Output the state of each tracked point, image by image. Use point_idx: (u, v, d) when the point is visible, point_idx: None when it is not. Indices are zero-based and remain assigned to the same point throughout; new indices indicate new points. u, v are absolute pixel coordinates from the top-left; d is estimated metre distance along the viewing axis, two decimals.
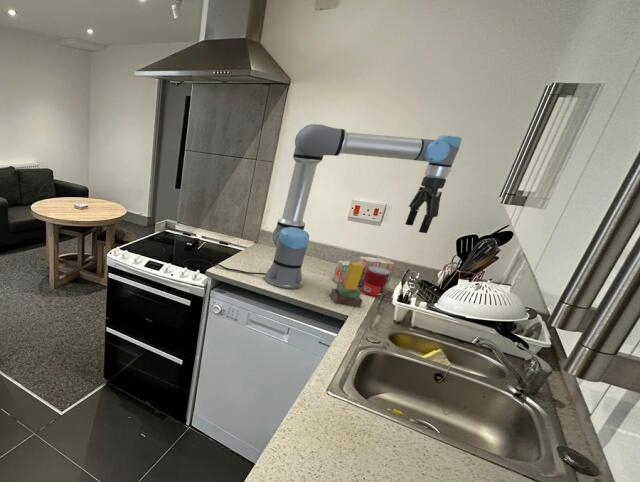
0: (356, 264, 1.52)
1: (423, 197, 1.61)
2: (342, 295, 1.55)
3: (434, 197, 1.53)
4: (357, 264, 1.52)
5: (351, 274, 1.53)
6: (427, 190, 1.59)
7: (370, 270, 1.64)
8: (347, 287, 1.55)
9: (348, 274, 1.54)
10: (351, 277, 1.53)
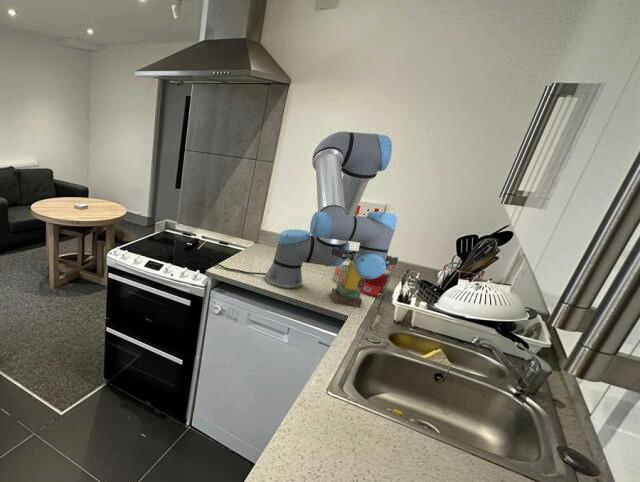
0: None
1: None
2: (342, 295, 1.55)
3: (342, 251, 1.35)
4: None
5: (351, 274, 1.53)
6: None
7: None
8: (347, 287, 1.55)
9: (348, 274, 1.54)
10: (351, 277, 1.53)
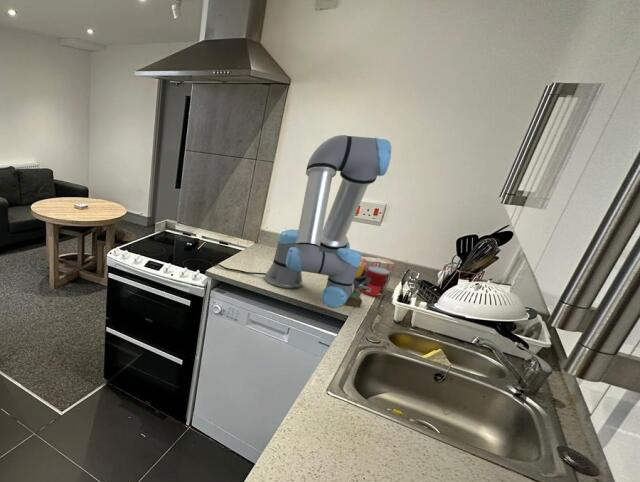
0: None
1: None
2: None
3: None
4: None
5: None
6: None
7: (370, 270, 1.64)
8: None
9: None
10: None
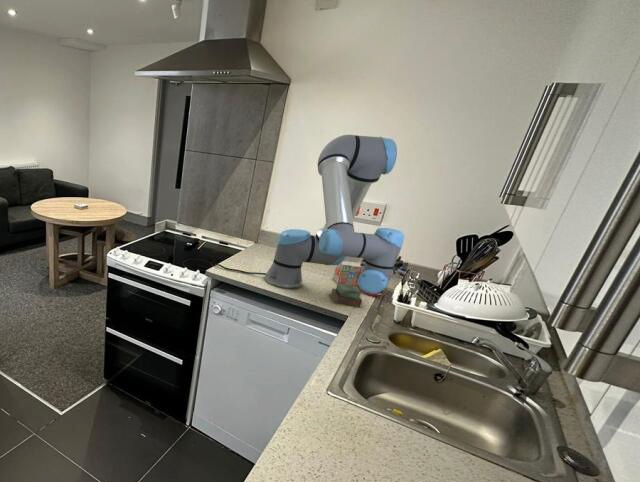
0: None
1: None
2: (342, 295, 1.55)
3: None
4: None
5: None
6: None
7: None
8: None
9: None
10: None
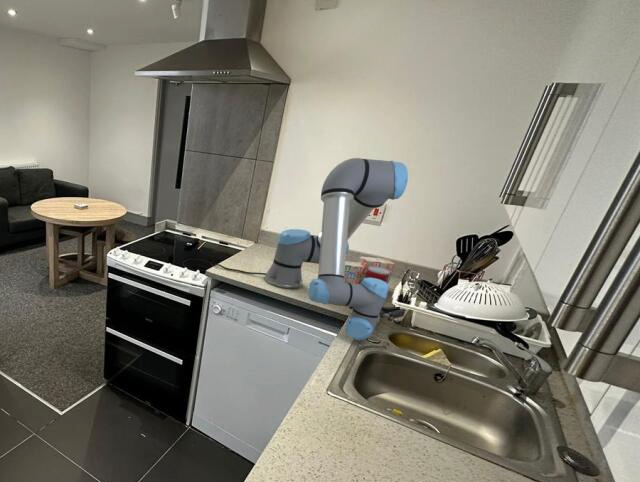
0: None
1: None
2: None
3: None
4: None
5: None
6: None
7: (370, 270, 1.64)
8: None
9: None
10: None
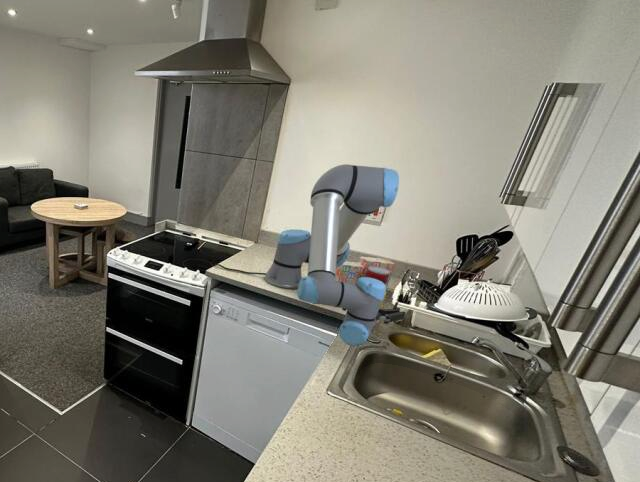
0: None
1: None
2: None
3: None
4: None
5: None
6: None
7: (370, 270, 1.64)
8: None
9: None
10: None
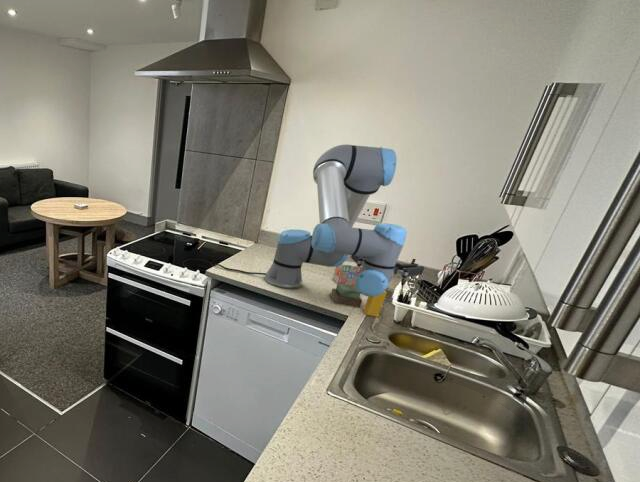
0: None
1: None
2: (342, 295, 1.55)
3: (358, 257, 1.26)
4: None
5: (373, 300, 1.46)
6: None
7: None
8: (369, 313, 1.48)
9: (370, 300, 1.47)
10: (373, 303, 1.46)
